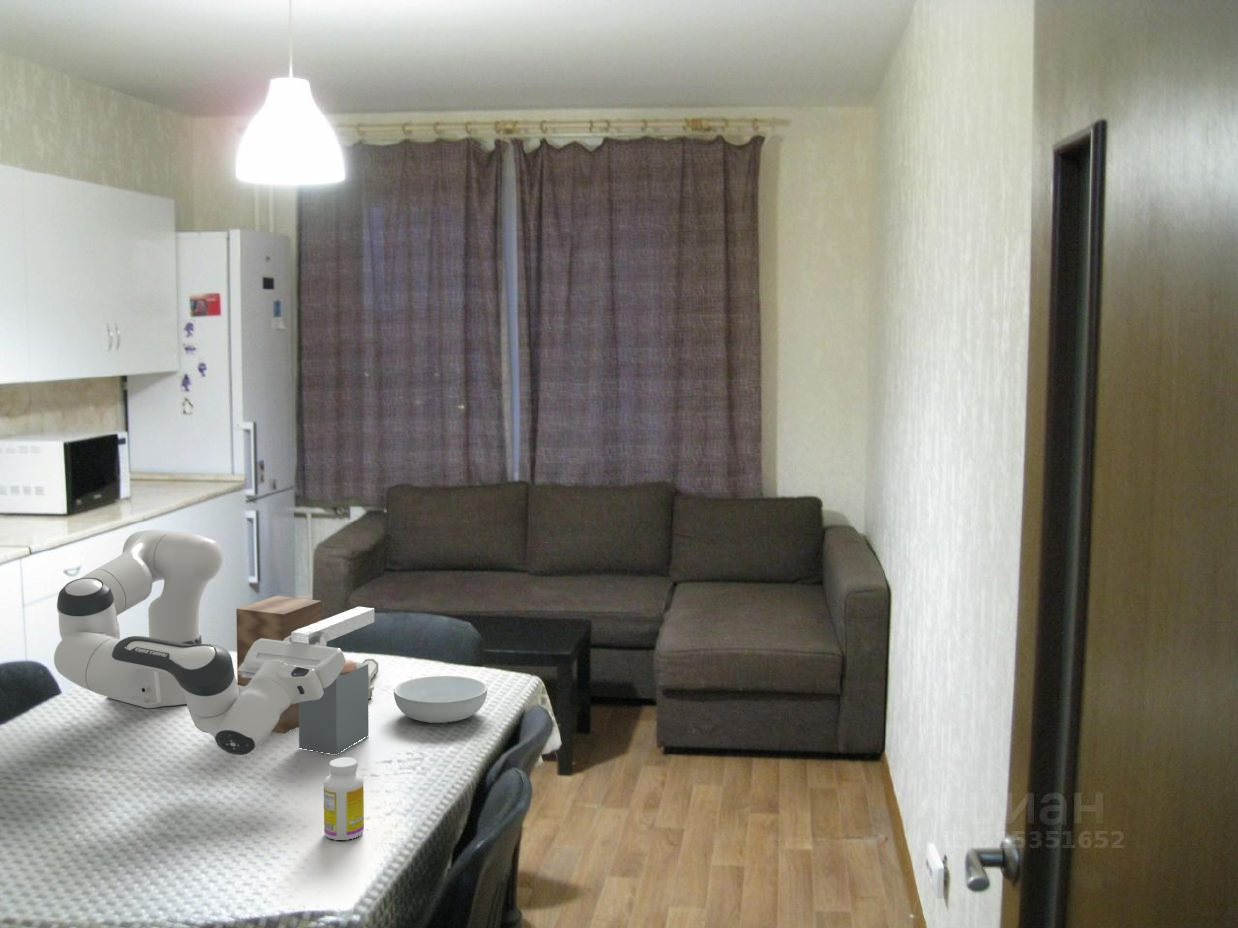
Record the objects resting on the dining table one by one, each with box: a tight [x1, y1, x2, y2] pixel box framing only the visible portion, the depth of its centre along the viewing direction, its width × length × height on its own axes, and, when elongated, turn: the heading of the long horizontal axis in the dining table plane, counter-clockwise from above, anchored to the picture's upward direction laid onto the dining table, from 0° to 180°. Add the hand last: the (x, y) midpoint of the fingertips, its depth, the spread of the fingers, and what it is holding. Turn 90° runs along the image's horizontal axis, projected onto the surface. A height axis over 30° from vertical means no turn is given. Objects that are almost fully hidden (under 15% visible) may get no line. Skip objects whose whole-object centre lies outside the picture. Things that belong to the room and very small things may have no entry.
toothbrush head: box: [362, 658, 379, 699], centre depth 290 cm, size 5×7×25 cm
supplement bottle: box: [323, 757, 365, 841], centre depth 205 cm, size 7×7×13 cm
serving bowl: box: [393, 675, 489, 724], centre depth 268 cm, size 21×21×7 cm
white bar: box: [291, 606, 375, 645], centre depth 247 cm, size 4×24×3 cm, turn 160°
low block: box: [298, 659, 369, 755], centre depth 249 cm, size 9×12×17 cm
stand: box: [235, 595, 323, 734], centre depth 262 cm, size 12×14×26 cm
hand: (314, 632), depth 240 cm, fingers closed on white bar, 4 cm apart
